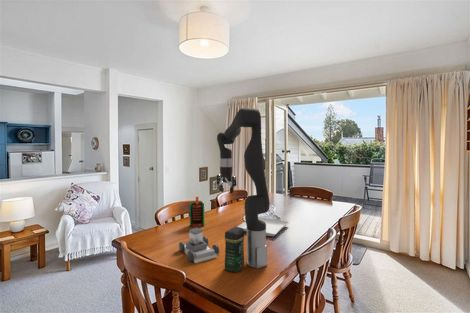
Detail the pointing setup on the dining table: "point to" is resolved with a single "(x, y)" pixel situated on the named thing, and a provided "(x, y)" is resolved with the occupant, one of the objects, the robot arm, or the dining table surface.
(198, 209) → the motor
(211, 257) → the car chassis
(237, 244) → the coffee jar
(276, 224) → the square plate
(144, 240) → the dining table surface
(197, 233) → the grey-topped square pillar
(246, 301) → the dining table surface
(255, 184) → the robot arm
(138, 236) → the dining table surface
